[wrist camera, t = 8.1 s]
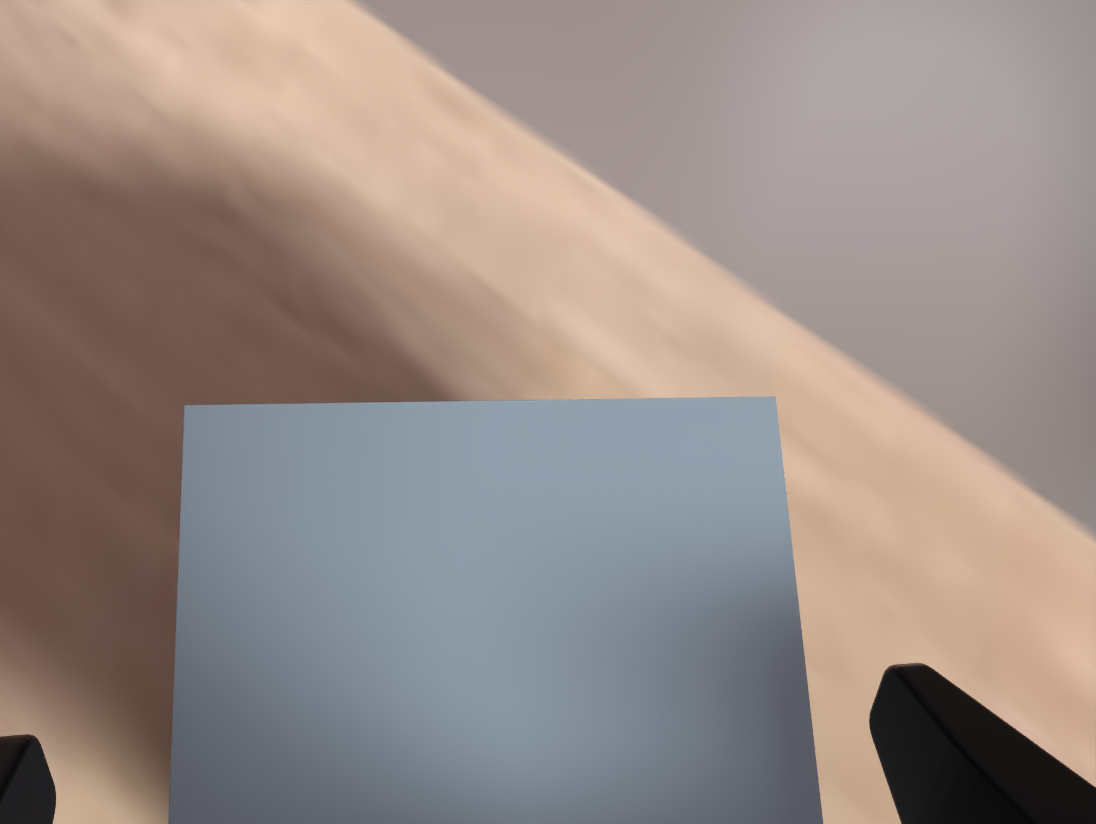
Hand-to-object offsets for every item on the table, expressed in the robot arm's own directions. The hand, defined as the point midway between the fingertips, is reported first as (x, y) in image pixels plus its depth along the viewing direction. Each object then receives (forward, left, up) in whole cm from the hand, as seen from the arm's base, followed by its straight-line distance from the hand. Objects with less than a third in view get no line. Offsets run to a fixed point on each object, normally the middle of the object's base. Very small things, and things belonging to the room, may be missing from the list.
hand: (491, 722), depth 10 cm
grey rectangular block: (0, -1, -8) cm, 8 cm away
